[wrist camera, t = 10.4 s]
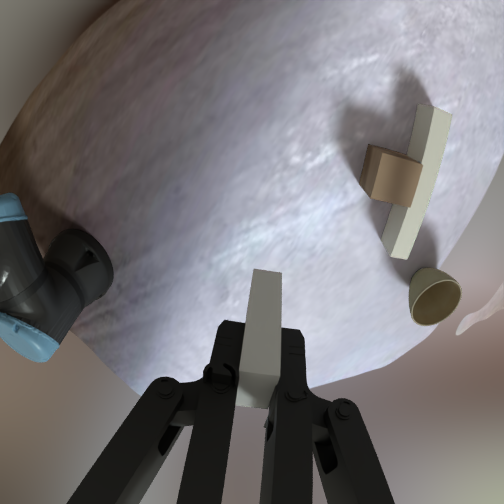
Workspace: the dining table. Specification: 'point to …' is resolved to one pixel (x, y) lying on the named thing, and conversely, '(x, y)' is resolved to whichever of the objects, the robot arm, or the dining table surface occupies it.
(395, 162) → the block
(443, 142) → the board
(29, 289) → the robot arm
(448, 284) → the flower pot
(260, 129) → the dining table surface
